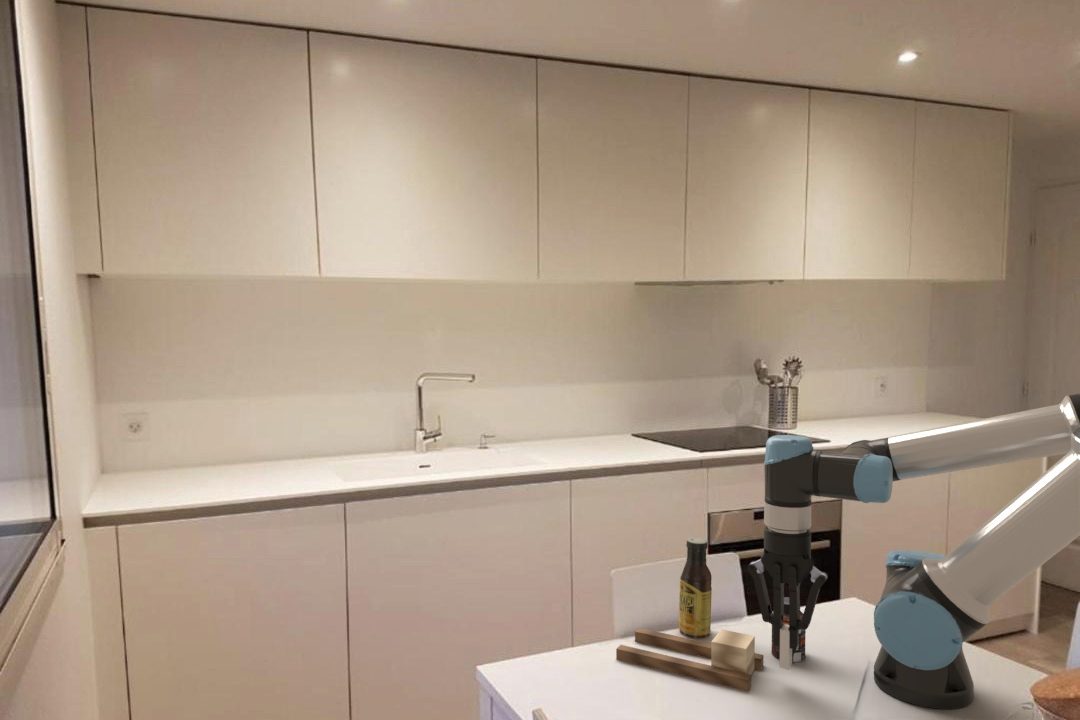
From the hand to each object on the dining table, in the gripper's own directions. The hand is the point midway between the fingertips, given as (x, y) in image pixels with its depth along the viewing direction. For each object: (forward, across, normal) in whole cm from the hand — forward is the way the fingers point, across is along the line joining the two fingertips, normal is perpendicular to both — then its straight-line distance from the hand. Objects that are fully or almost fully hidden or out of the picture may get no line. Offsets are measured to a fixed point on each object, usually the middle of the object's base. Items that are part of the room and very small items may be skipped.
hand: (785, 665), depth 123 cm
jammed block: (+3, +9, 0) cm, 10 cm away
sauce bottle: (+5, +20, -13) cm, 25 cm away
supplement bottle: (+5, +2, -12) cm, 13 cm away
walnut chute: (+5, +17, 0) cm, 17 cm away
